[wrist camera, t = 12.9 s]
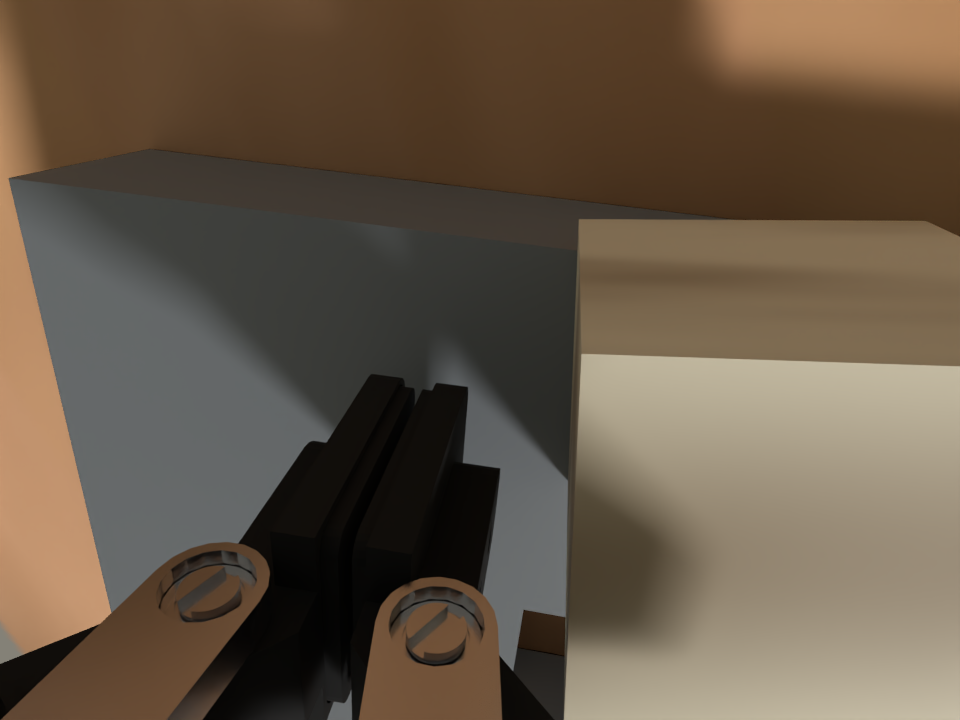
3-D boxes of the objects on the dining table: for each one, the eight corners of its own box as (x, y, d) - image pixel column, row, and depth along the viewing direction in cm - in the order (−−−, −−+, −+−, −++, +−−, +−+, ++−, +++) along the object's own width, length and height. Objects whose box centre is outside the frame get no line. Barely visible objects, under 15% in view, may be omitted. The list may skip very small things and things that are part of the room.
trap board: (1104, 779, 19) (1228, 949, 15) (213, 613, 21) (138, 725, 18) (1518, 314, 12) (1914, 421, 8) (149, 149, 14) (9, 178, 11)
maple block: (847, 497, 11) (1026, 784, 7) (568, 481, 12) (563, 731, 7) (925, 221, 9) (1260, 377, 5) (579, 219, 10) (581, 354, 5)
